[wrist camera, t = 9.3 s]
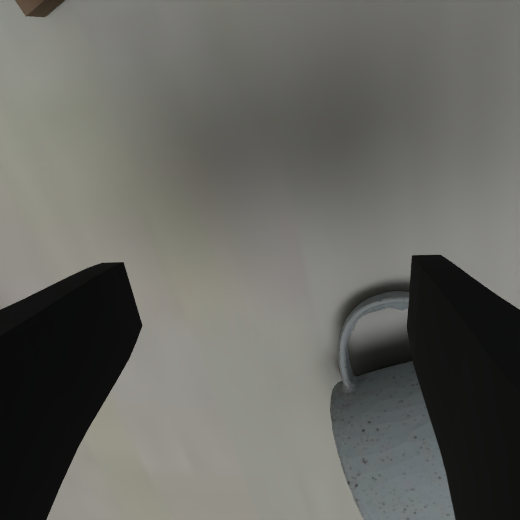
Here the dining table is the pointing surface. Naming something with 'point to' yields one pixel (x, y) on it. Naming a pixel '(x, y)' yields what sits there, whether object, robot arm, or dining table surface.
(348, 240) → the dining table surface
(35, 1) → the brown rectangular board
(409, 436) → the ceramic mug
